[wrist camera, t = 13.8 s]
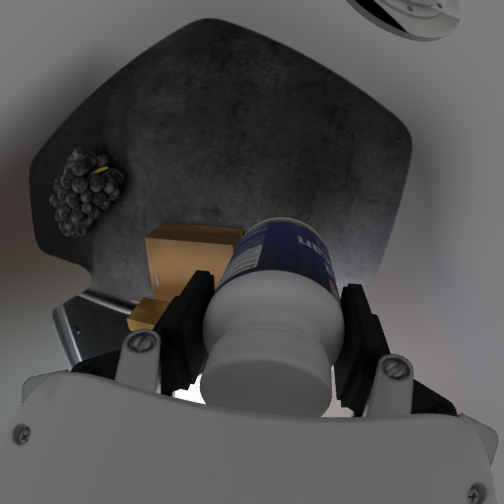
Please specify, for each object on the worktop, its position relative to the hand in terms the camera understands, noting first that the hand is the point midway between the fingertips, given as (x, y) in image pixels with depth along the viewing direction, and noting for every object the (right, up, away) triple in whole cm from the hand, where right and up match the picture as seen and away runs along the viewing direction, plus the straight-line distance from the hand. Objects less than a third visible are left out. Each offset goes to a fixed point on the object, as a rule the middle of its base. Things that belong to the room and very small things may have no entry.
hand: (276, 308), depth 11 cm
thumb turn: (-12, -4, +20) cm, 24 cm away
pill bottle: (+1, +2, +5) cm, 5 cm away
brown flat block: (-9, 0, +24) cm, 25 cm away
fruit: (-23, +11, +21) cm, 33 cm away
